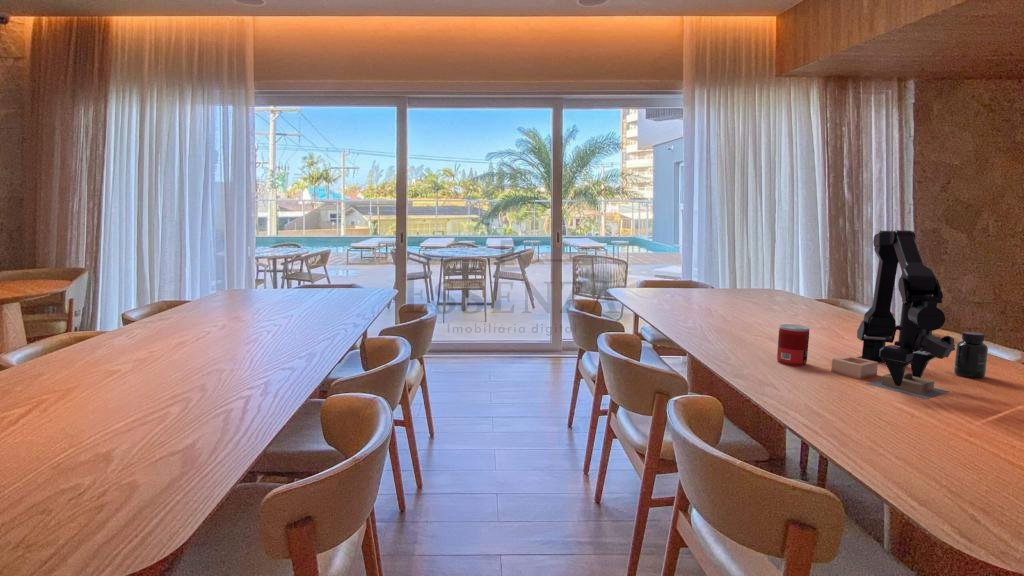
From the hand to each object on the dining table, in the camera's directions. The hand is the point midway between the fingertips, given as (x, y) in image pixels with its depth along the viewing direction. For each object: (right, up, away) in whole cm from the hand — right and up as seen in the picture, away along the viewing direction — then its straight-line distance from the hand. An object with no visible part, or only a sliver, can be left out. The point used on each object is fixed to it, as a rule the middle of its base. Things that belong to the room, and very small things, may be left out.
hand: (907, 383), depth 147 cm
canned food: (-18, +2, +24) cm, 30 cm away
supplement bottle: (+26, 0, +13) cm, 29 cm away
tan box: (-6, 0, +13) cm, 14 cm away
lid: (0, -1, 0) cm, 1 cm away
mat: (0, -2, 0) cm, 2 cm away
